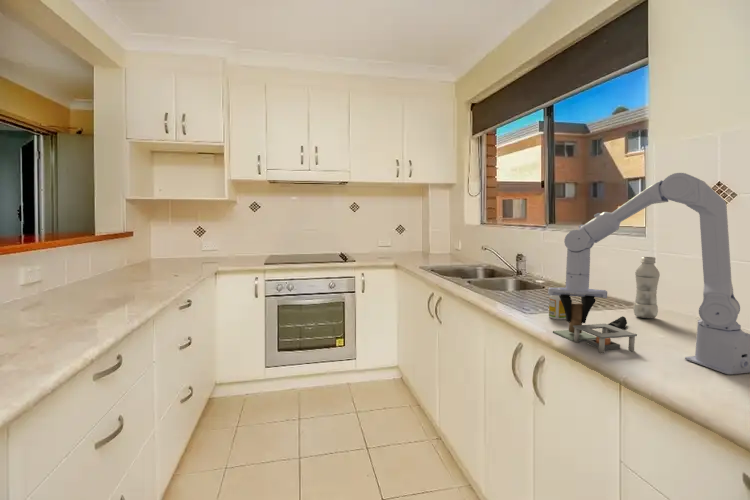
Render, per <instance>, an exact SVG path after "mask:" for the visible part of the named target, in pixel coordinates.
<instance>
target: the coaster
mask: <svg viewBox="0 0 750 500" xmlns="http://www.w3.org/2000/svg"><path fill="white" fill-rule="evenodd" d="M552 333H554V334H556V335H558V336H560V337H562V338H565V339H567V340H569V341H571V342H574V333H571V332H569V329H562V330H553V331H552ZM588 339H596V336H594V335H592V334H589V333H587V332H584V331H582V333H579V341H587V340H588Z"/></svg>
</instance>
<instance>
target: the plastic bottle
mask: <svg viewBox="0 0 750 500" xmlns="http://www.w3.org/2000/svg"><path fill="white" fill-rule="evenodd" d="M640 263H641V265H640V266H639V267H638V268H637V269H636V270H635V282H636V294H635V301H634V304H633V308H632V310H633V313H634V315H635V316H636V317H639V318H642V319H655V318H656V317H658V313H659V309H658V308H659V307H658V298H657V292H658V291H657V290H658V285H659V281H660V280H659V279H660V271H659V270H658V267H656V265H655V264H656V263H657V262H656V257H654V256H641V260H640Z"/></svg>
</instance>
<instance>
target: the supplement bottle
mask: <svg viewBox="0 0 750 500" xmlns="http://www.w3.org/2000/svg"><path fill="white" fill-rule="evenodd" d="M548 298H549V302H548V304H549V305H548V317H549V318H550V319H552V320H560V321H561V320H566V314H565V310H564V307H563V304H562V302H561V299H560V297H559V295H553V296H550V295H549V297H548Z"/></svg>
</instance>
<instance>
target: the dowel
mask: <svg viewBox="0 0 750 500" xmlns="http://www.w3.org/2000/svg"><path fill="white" fill-rule="evenodd" d="M582 315H583V304H582V303H581V302H577V301H576V302H573V301H572V303H571V322H568V330H569V332H571V333H574V330H575V328H574V327H573V326H576V325H583V323H582ZM580 333H582V331H581V330H580Z"/></svg>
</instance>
